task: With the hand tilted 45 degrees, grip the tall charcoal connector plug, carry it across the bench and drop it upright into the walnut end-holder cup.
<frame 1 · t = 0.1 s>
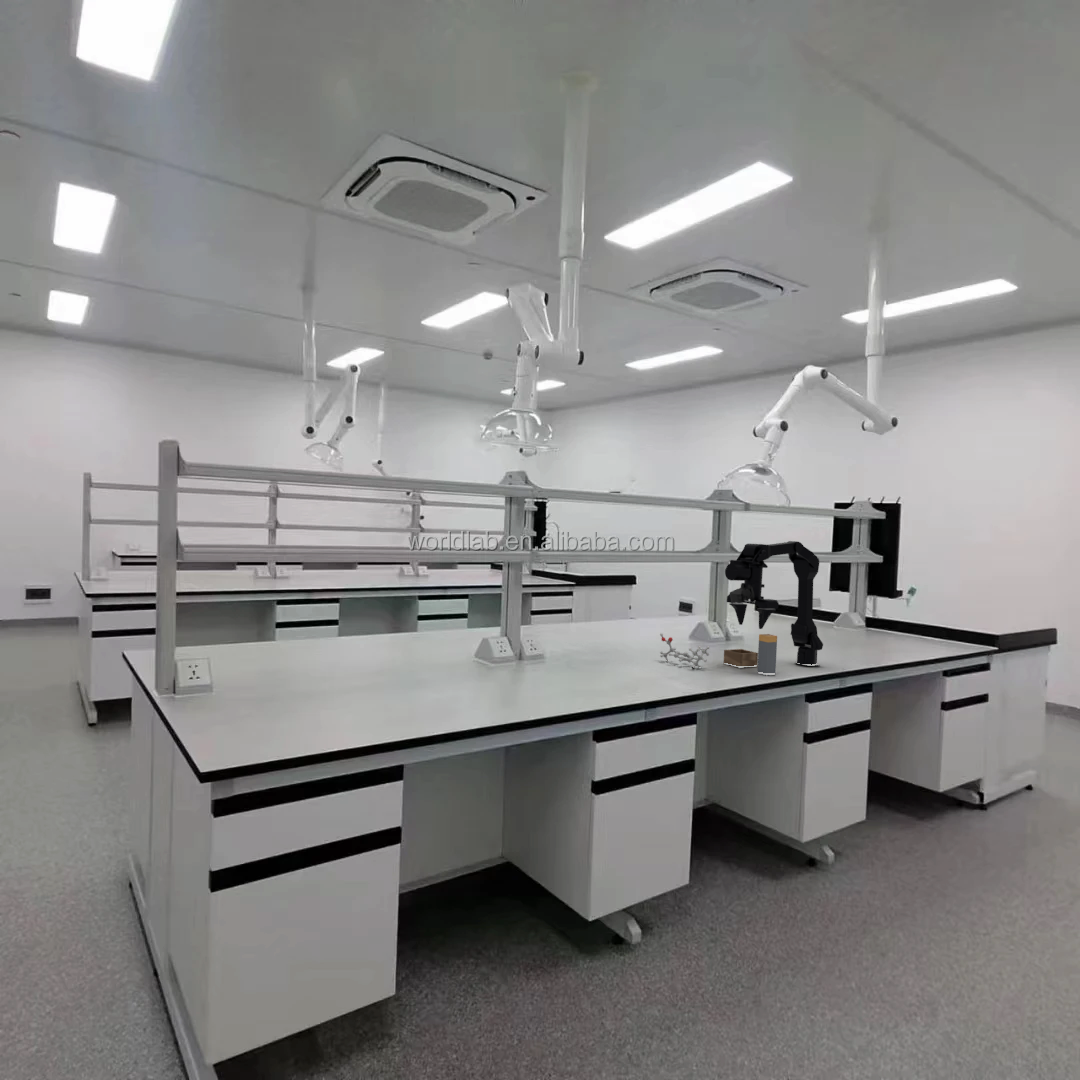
hand: (750, 626, 232), 15 cm above the table, tool pointing down, fingers open, 9 cm apart
end holder: (740, 665, 238), on the table
molecular model: (683, 666, 234), on the table
connector plug: (766, 674, 225), on the table
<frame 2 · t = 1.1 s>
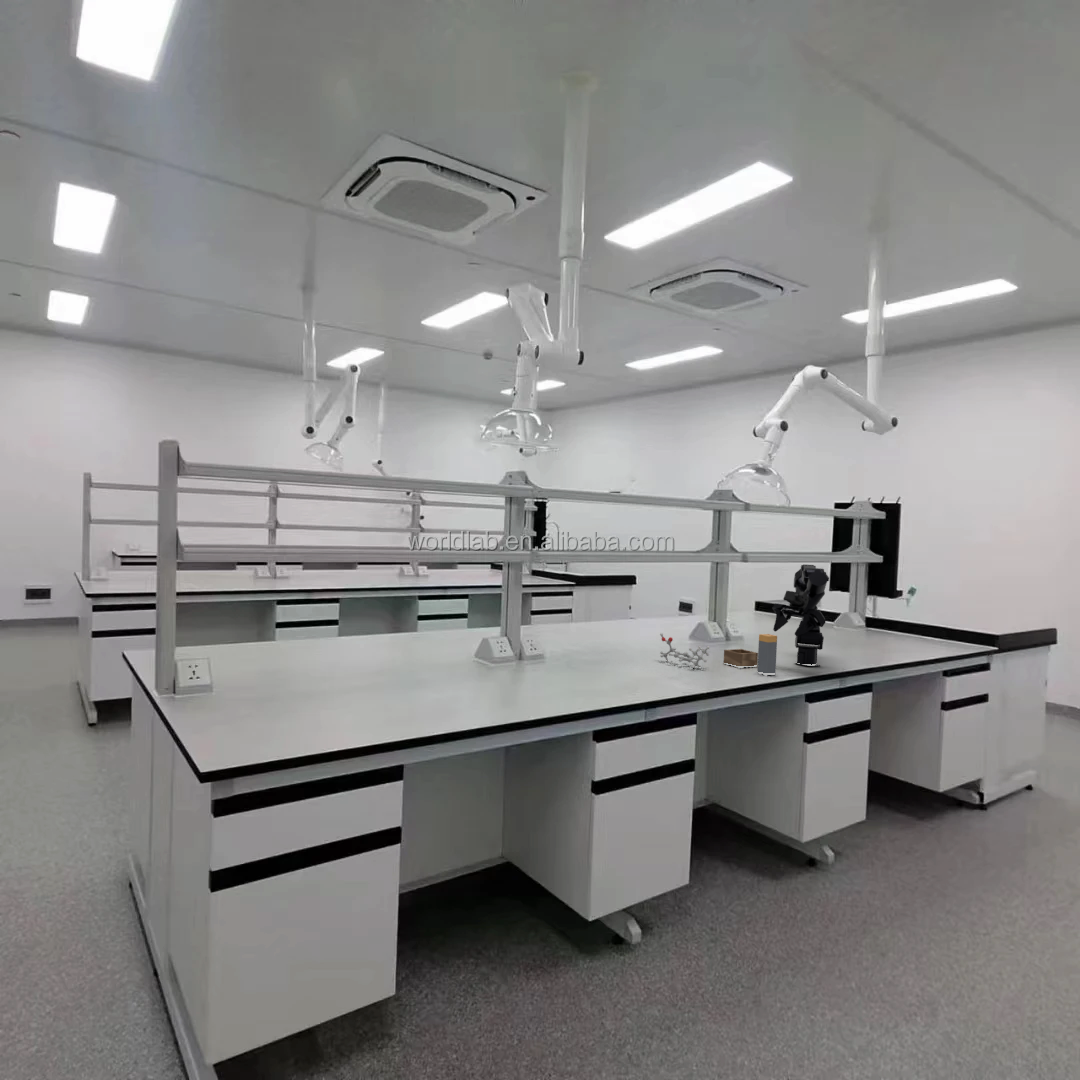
hand: (784, 632, 228), 14 cm above the table, tool tilted 45°, fingers open, 9 cm apart
nothing on the table moved.
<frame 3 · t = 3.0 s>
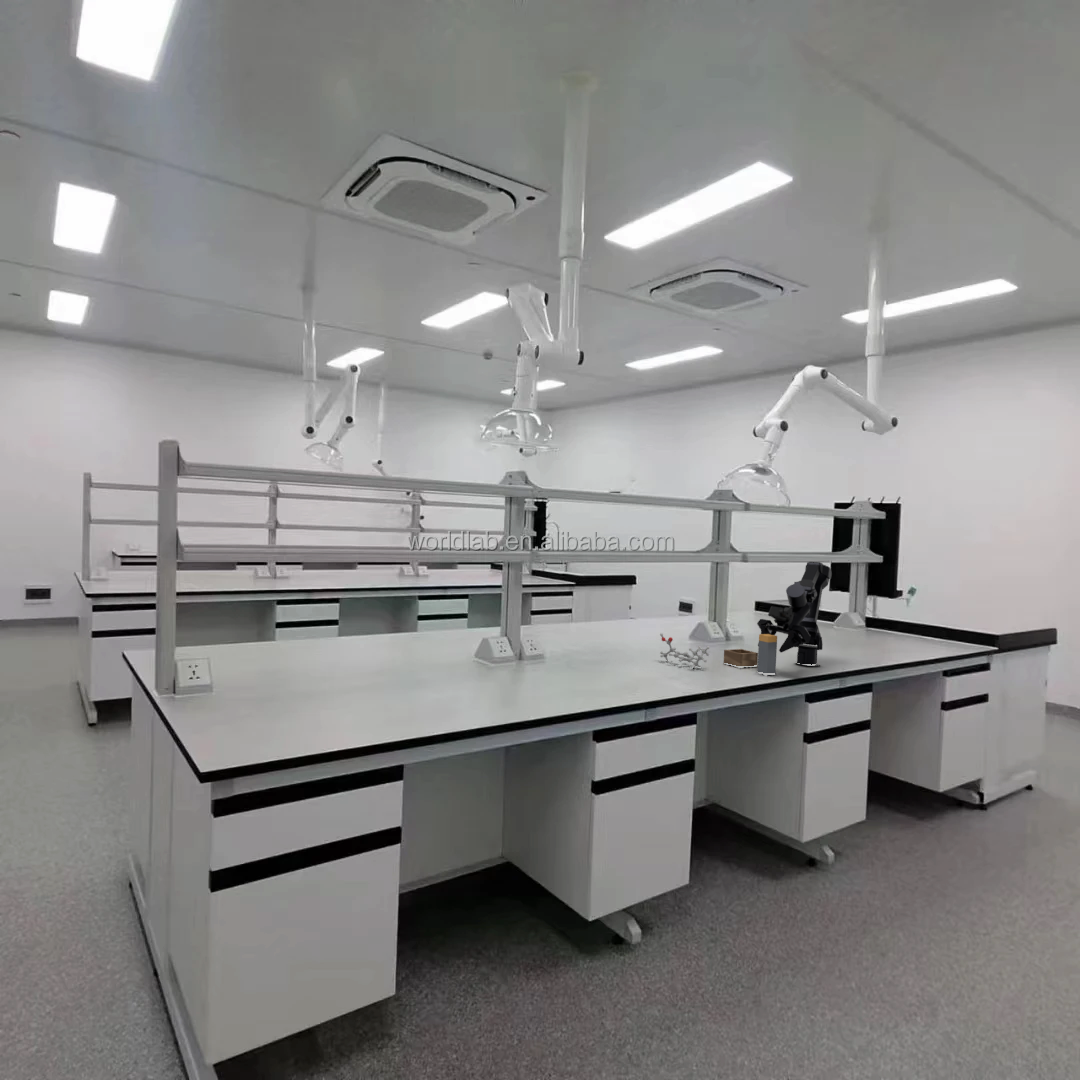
hand: (769, 649, 225), 8 cm above the table, tool tilted 45°, fingers open, 9 cm apart
nothing on the table moved.
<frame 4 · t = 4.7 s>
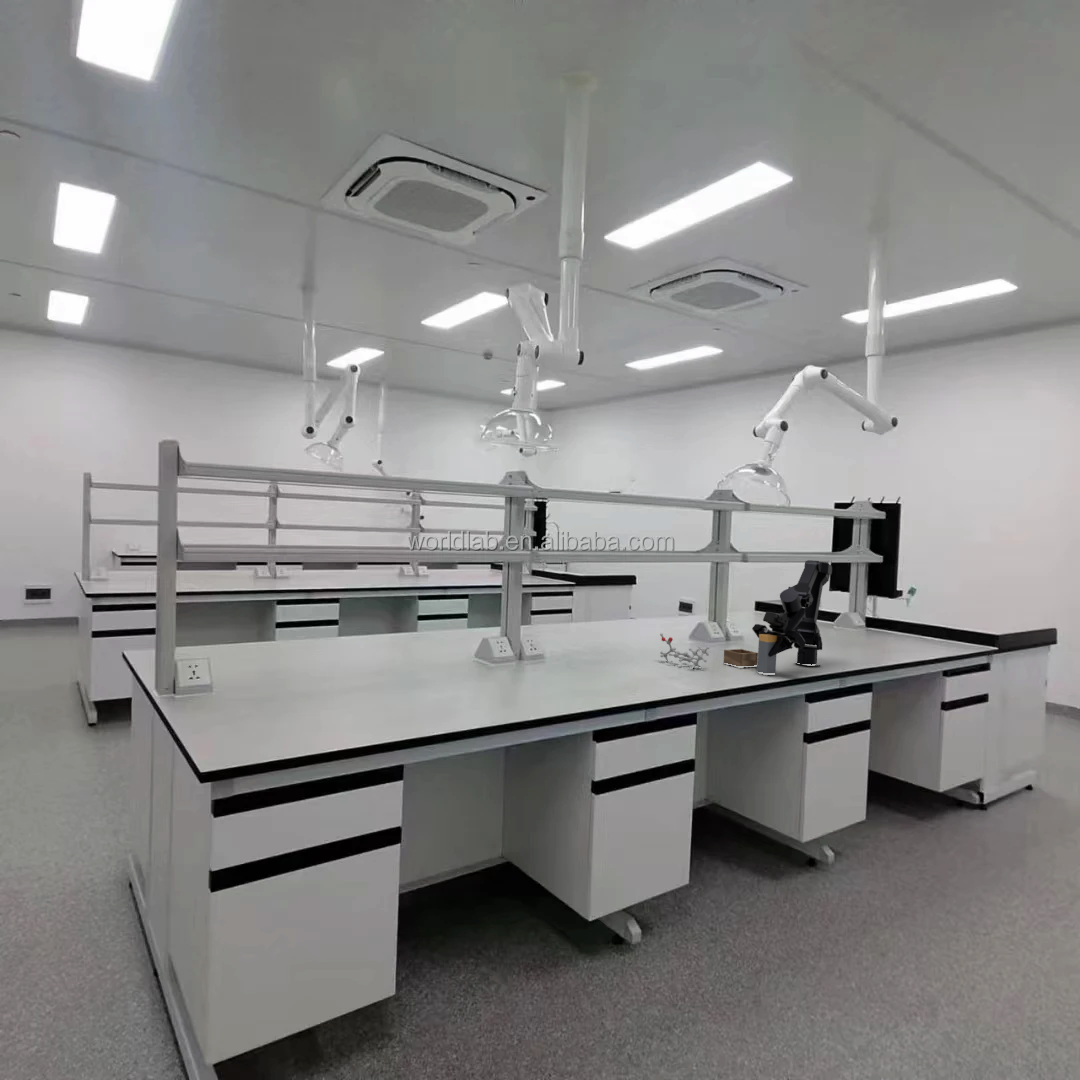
hand: (764, 654, 224), 7 cm above the table, tool tilted 45°, fingers closed on connector plug, 4 cm apart
connector plug: (766, 674, 225), on the table, touching gripper
everything else where it was.
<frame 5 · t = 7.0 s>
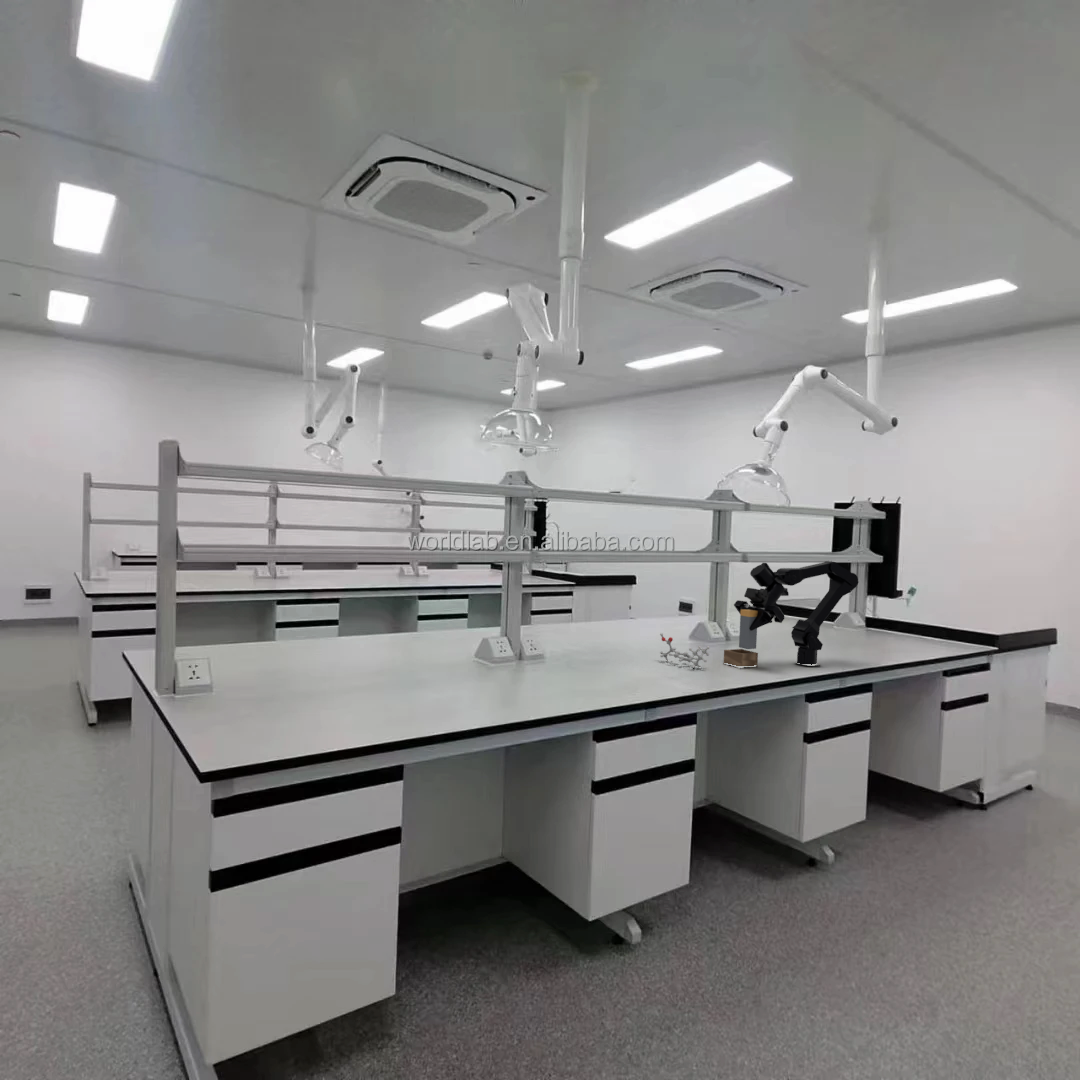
hand: (745, 628, 234), 13 cm above the table, tool tilted 45°, fingers closed on connector plug, 4 cm apart
connector plug: (747, 647, 235), point 7 cm above the table, touching gripper
everything else where it was.
when the fingers open (9 cm above the table, at t = 9.1 s): connector plug drops 2 cm, resting on end holder.
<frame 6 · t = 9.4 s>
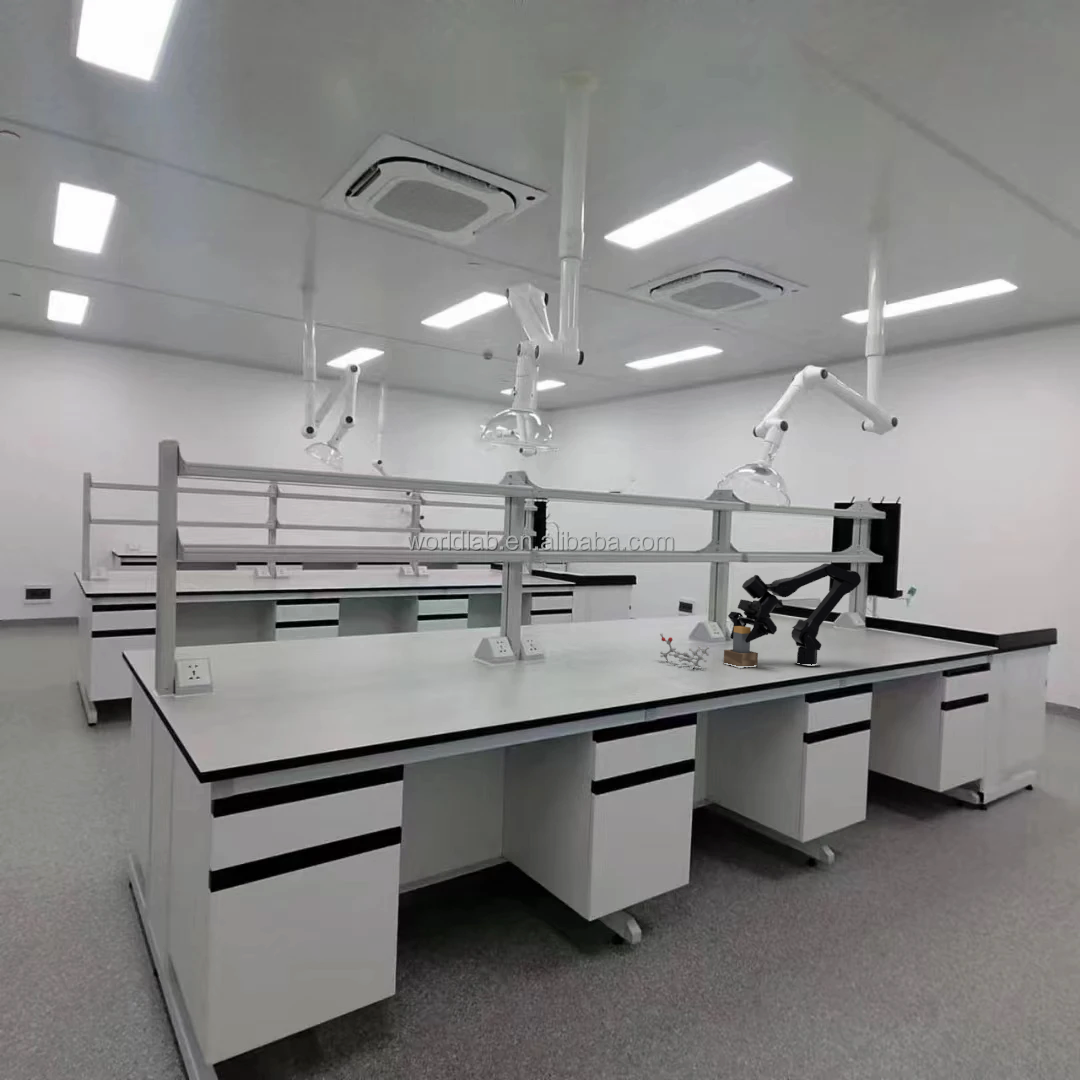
hand: (738, 640, 238), 9 cm above the table, tool tilted 45°, fingers open, 7 cm apart
connector plug: (740, 664, 238), point 1 cm above the table, touching end holder
everything else where it was.
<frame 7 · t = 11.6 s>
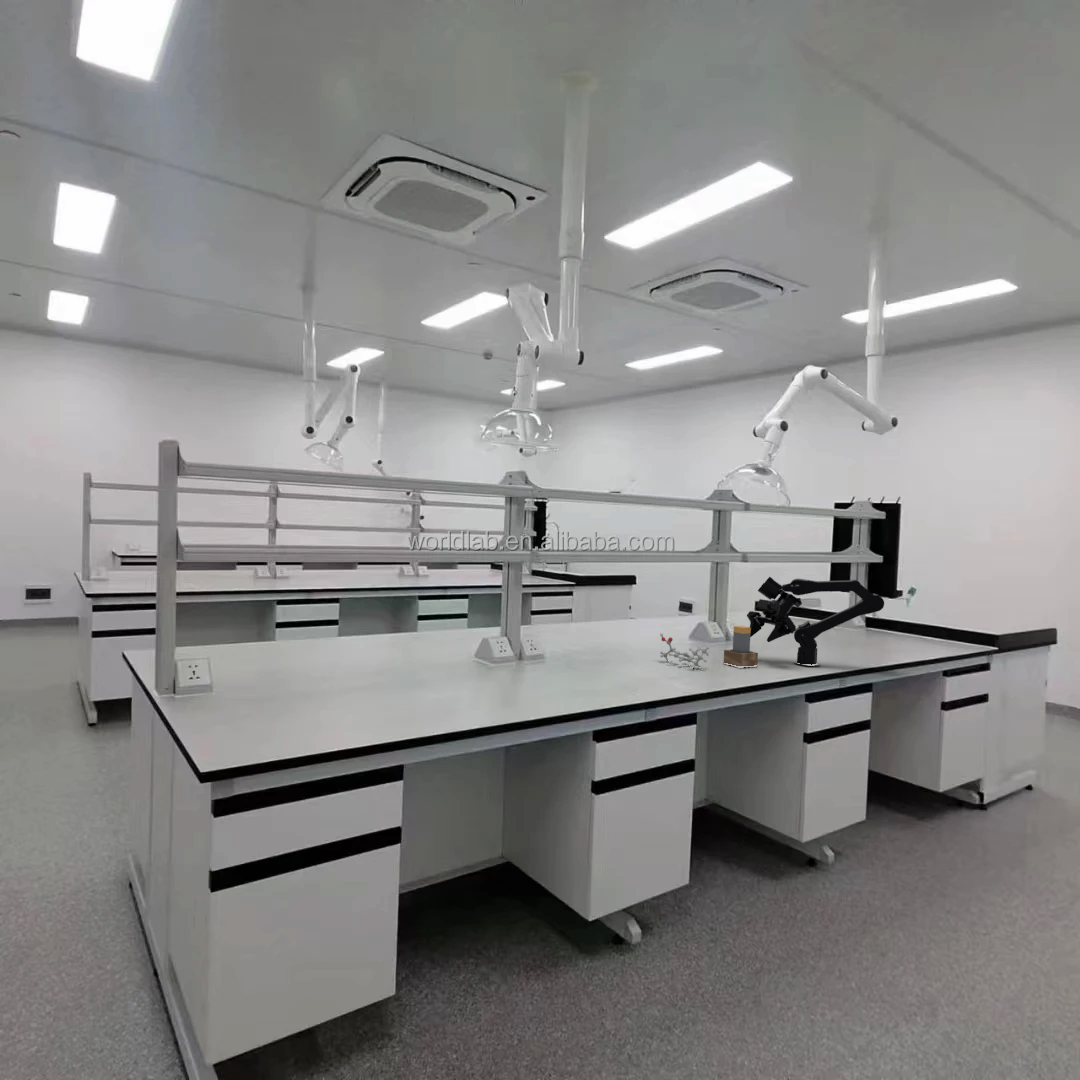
hand: (757, 639, 241), 9 cm above the table, tool tilted 45°, fingers open, 9 cm apart
nothing on the table moved.
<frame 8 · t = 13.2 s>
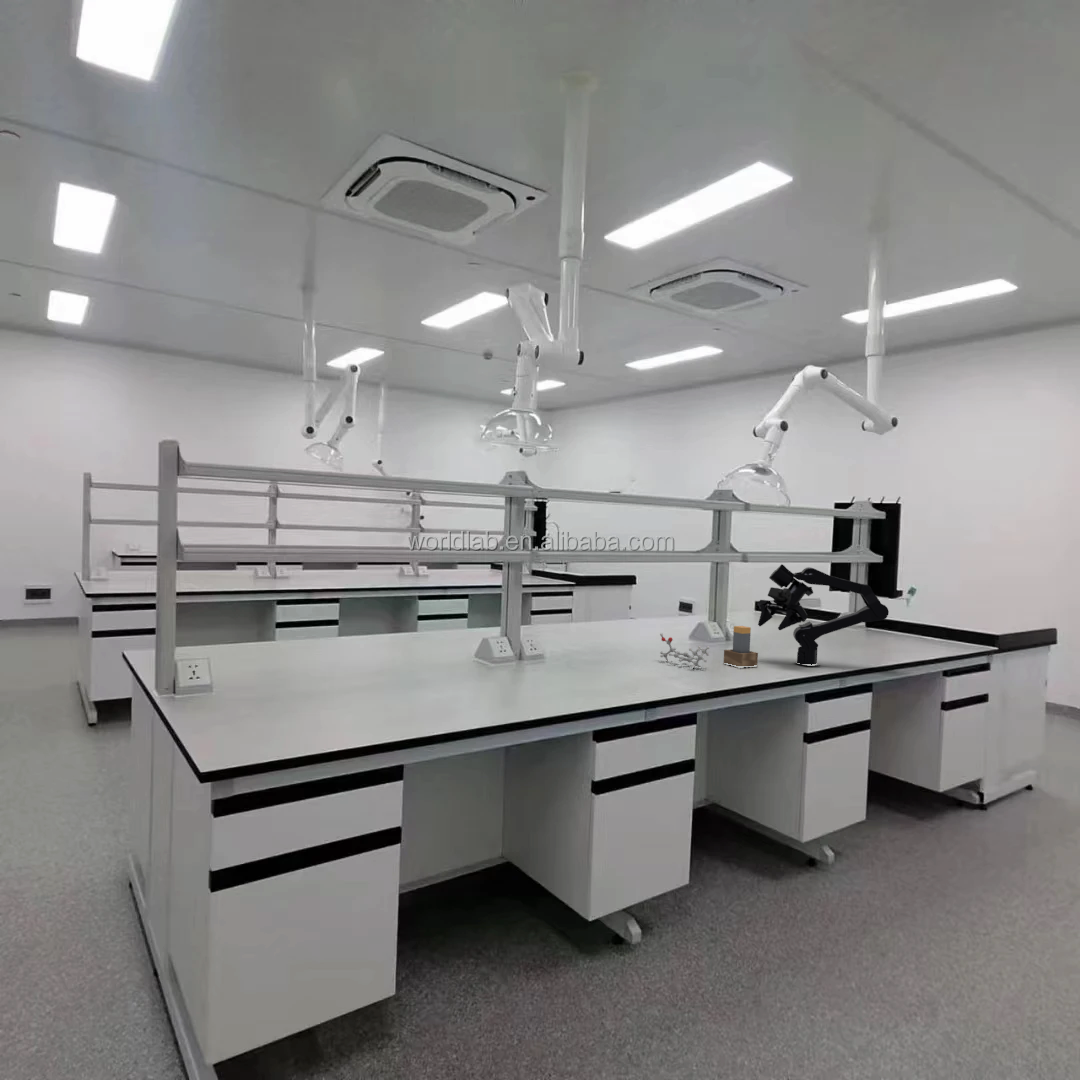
hand: (768, 627, 240), 14 cm above the table, tool tilted 45°, fingers open, 9 cm apart
nothing on the table moved.
at the end: connector plug 0.1 cm off-centre on the end holder, point 0.6 cm above the end holder's base; connector plug tilted 0°; the gripper is holding nothing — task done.
